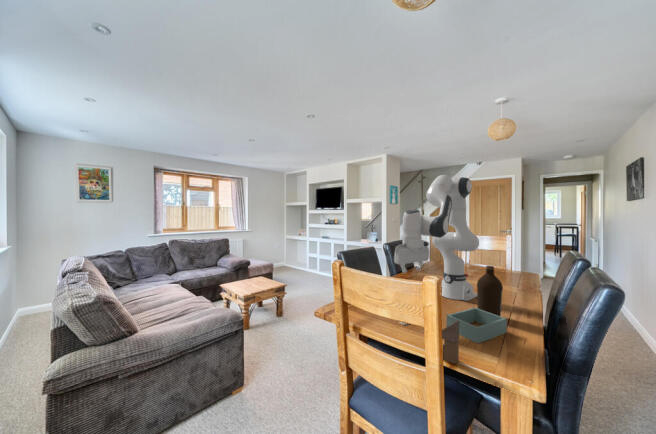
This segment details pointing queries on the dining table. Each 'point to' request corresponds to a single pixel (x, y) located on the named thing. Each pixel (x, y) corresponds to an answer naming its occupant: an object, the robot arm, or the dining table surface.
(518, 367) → the dining table surface
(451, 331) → the wooden block
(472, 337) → the open box
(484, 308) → the olive oil
